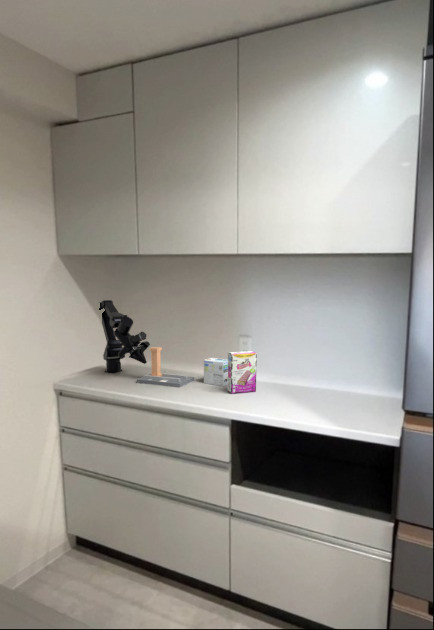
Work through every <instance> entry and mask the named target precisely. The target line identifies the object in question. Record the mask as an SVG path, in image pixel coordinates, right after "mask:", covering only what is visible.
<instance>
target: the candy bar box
mask: <svg viewBox="0 0 434 630" xmlns="http://www.w3.org/2000/svg"><path fill="white" fill-rule="evenodd" d="M257 354H258V353H257V352H255V351H252V350H249V351H230V352H229V351H228V352H227V359H228V384H227V392H229V393H230V394H231V395H232V394H234V395H235V394H241V393H242V394H243V393H254V392H256V391H257V361H258V360H257V357H258V356H257Z"/></svg>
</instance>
